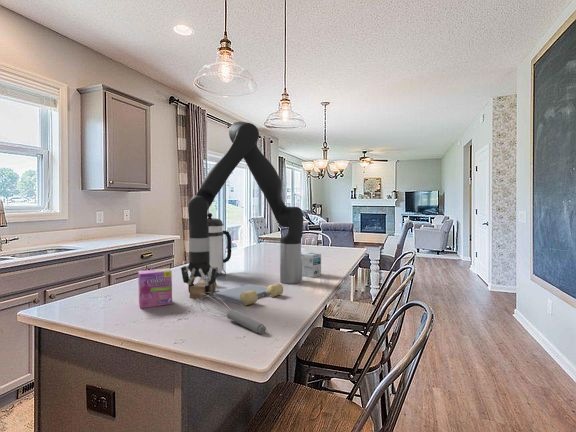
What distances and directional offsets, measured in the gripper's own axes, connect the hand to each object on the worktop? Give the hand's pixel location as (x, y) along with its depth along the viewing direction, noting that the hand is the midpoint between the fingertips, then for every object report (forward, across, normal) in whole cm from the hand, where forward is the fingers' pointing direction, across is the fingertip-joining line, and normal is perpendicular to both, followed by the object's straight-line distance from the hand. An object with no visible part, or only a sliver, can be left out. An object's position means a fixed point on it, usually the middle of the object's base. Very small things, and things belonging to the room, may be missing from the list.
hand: (199, 294), depth 128 cm
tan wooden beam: (+1, 0, +4) cm, 4 cm away
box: (+1, -11, -12) cm, 16 cm away
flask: (+1, -5, +17) cm, 18 cm away
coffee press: (+1, -10, +36) cm, 38 cm away
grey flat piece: (+1, +18, +4) cm, 19 cm away
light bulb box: (+1, +36, +44) cm, 57 cm away
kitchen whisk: (+1, +20, -22) cm, 30 cm away
